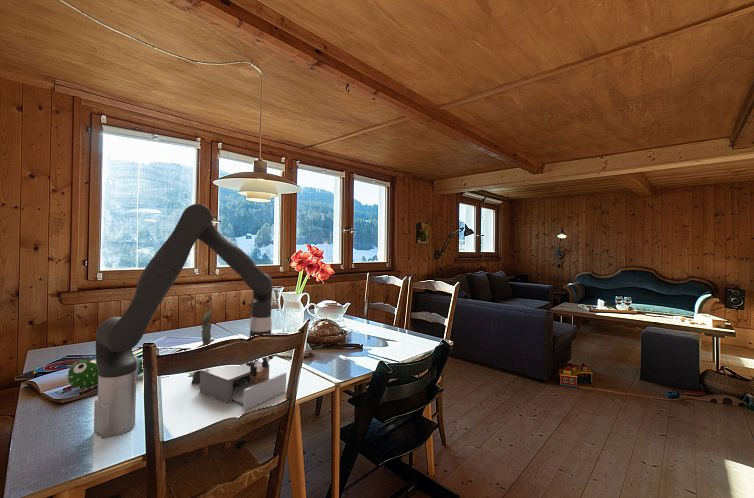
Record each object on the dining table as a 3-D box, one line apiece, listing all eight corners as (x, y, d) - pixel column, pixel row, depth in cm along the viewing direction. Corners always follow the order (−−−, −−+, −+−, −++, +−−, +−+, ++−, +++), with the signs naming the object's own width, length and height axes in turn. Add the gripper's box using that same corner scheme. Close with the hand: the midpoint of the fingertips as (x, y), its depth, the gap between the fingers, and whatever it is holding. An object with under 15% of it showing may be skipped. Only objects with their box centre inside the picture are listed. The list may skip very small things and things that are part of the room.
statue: (195, 377, 144) (197, 305, 144) (215, 376, 146) (217, 305, 145) (190, 384, 137) (193, 308, 137) (211, 383, 139) (214, 308, 139)
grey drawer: (285, 390, 135) (286, 373, 134) (245, 410, 118) (245, 390, 118) (257, 381, 142) (258, 364, 142) (216, 398, 126) (216, 379, 126)
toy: (170, 351, 141) (73, 362, 119) (168, 380, 140) (70, 397, 117) (151, 350, 155) (61, 359, 133) (149, 376, 153) (58, 390, 131)
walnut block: (258, 384, 126) (258, 371, 125) (249, 381, 128) (250, 369, 128) (268, 380, 129) (268, 368, 129) (259, 377, 132) (259, 365, 132)
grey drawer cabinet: (268, 385, 139) (269, 364, 139) (227, 403, 123) (228, 380, 123) (241, 376, 147) (242, 356, 147) (199, 392, 131) (200, 369, 131)
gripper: (252, 334, 120) (250, 383, 121) (282, 325, 132) (280, 370, 133) (237, 330, 124) (236, 378, 124) (268, 322, 136) (266, 366, 137)
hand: (259, 373), depth 129 cm, fingers closed on walnut block, 4 cm apart
